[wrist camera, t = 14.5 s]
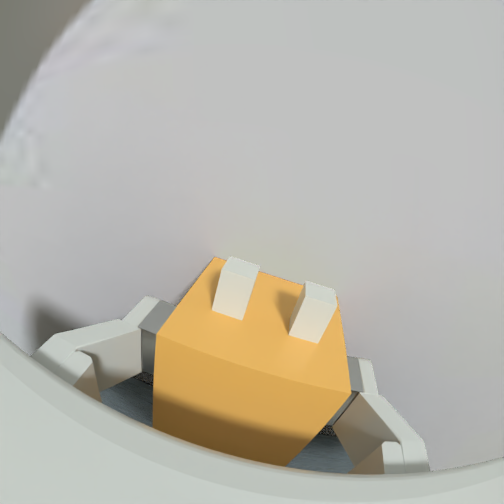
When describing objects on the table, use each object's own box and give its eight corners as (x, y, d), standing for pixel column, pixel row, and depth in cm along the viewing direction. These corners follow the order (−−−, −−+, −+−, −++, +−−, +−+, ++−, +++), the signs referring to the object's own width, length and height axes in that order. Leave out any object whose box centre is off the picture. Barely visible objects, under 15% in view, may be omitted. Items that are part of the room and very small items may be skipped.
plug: (223, 484, 17) (211, 525, 13) (173, 467, 17) (156, 507, 13) (350, 266, 9) (378, 355, 5) (222, 224, 9) (160, 287, 5)
